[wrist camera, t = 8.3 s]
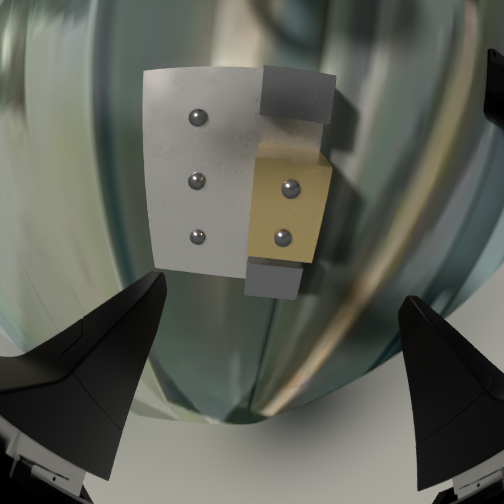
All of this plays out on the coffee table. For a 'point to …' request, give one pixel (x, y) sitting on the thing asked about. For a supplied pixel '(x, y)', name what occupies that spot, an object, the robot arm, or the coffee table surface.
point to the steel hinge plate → (223, 163)
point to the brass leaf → (287, 202)
